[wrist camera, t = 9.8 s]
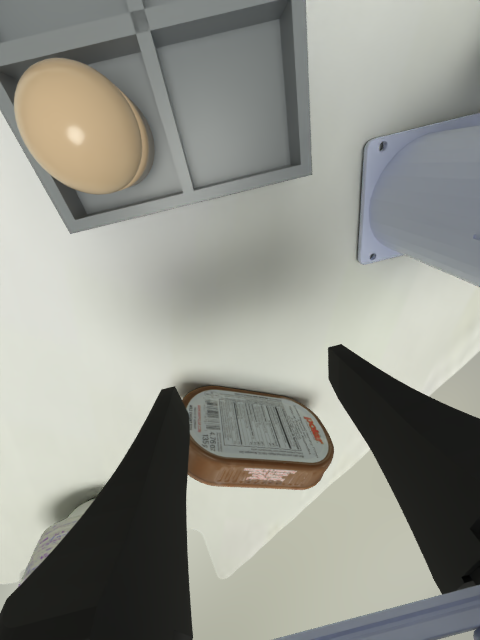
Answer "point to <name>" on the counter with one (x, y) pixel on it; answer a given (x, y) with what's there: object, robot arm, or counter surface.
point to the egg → (82, 127)
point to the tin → (254, 440)
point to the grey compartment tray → (176, 92)
